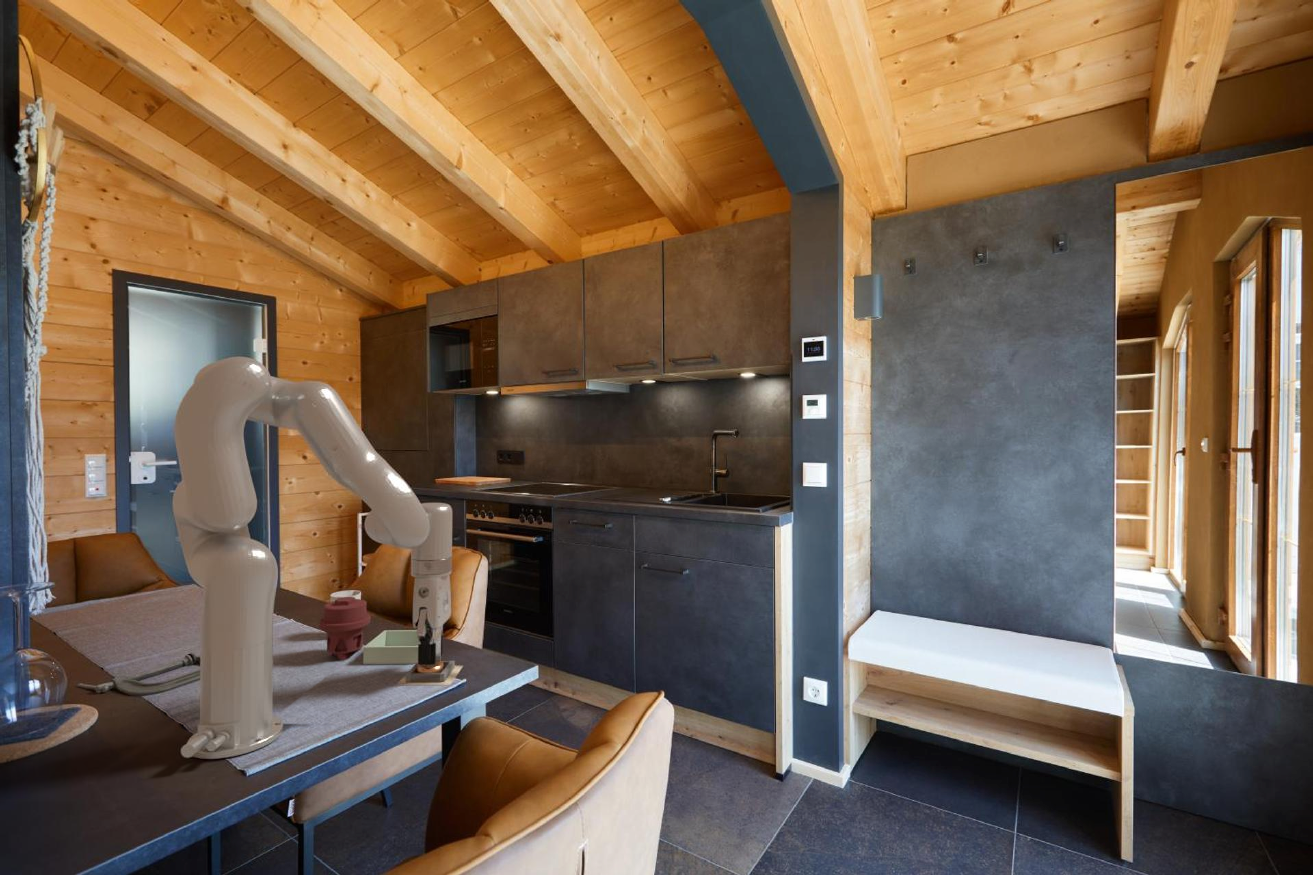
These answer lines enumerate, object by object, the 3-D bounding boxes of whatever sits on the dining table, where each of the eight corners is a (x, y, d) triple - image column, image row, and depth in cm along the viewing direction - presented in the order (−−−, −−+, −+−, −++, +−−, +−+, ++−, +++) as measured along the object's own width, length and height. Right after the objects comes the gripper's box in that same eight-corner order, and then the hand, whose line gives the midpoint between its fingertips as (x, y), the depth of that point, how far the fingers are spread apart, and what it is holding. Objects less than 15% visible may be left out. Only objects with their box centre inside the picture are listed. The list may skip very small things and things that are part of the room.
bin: (418, 669, 128) (419, 646, 128) (363, 669, 128) (363, 647, 128) (435, 650, 140) (435, 630, 140) (384, 650, 139) (384, 630, 139)
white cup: (366, 633, 151) (367, 592, 151) (340, 641, 145) (341, 598, 145) (350, 629, 154) (350, 588, 154) (324, 636, 149) (324, 594, 149)
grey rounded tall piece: (420, 681, 119) (421, 615, 119) (414, 673, 123) (415, 609, 123) (446, 676, 122) (446, 611, 122) (439, 668, 126) (440, 605, 126)
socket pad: (449, 691, 118) (449, 676, 118) (395, 691, 117) (395, 677, 117) (463, 671, 128) (463, 658, 128) (413, 671, 127) (413, 658, 127)
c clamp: (121, 708, 110) (121, 692, 110) (76, 689, 118) (76, 674, 118) (241, 670, 128) (241, 657, 128) (195, 656, 136) (195, 643, 136)
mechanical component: (346, 666, 130) (307, 660, 133) (380, 650, 139) (344, 645, 142) (346, 606, 130) (308, 602, 133) (380, 595, 139) (344, 591, 142)
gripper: (438, 575, 114) (437, 676, 114) (461, 558, 131) (460, 645, 131) (396, 575, 114) (395, 676, 114) (425, 558, 130) (424, 646, 130)
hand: (430, 658), depth 122 cm, fingers closed on grey rounded tall piece, 3 cm apart
